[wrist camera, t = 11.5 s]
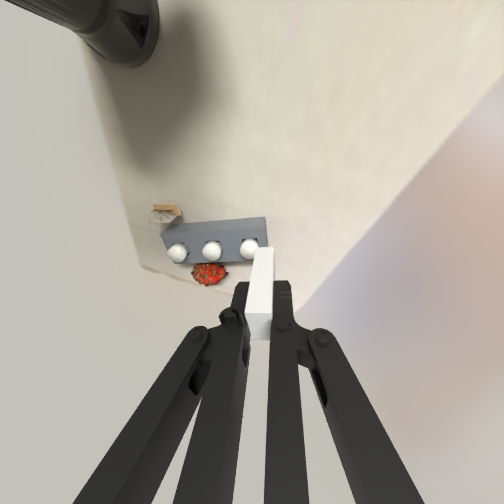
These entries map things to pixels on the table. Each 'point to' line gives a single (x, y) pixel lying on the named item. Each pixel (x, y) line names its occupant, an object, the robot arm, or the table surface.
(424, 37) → the table surface
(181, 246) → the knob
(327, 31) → the table surface
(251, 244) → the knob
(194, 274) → the dragon fruit
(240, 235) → the mount
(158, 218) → the architectural model
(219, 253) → the knob mid
